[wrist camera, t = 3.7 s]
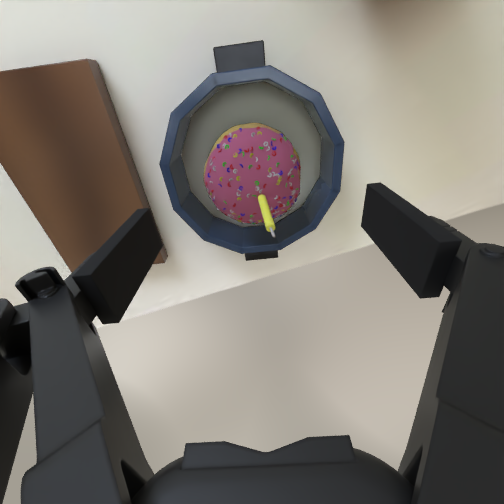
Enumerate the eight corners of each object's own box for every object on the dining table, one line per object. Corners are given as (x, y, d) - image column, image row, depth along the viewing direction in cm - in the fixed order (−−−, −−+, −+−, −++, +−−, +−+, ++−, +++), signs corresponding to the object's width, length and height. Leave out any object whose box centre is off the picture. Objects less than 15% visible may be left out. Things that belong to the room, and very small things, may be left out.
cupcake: (309, 170, 26) (348, 221, 16) (248, 218, 29) (247, 287, 19) (257, 96, 22) (264, 101, 12) (193, 160, 25) (156, 206, 15)
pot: (198, 248, 31) (191, 270, 27) (148, 63, 21) (126, 58, 17) (324, 235, 30) (334, 256, 26) (335, 37, 20) (355, 24, 16)
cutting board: (78, 265, 32) (71, 272, 31) (-37, 80, 21) (-55, 79, 20) (167, 256, 32) (164, 263, 30) (96, 60, 21) (87, 58, 19)
